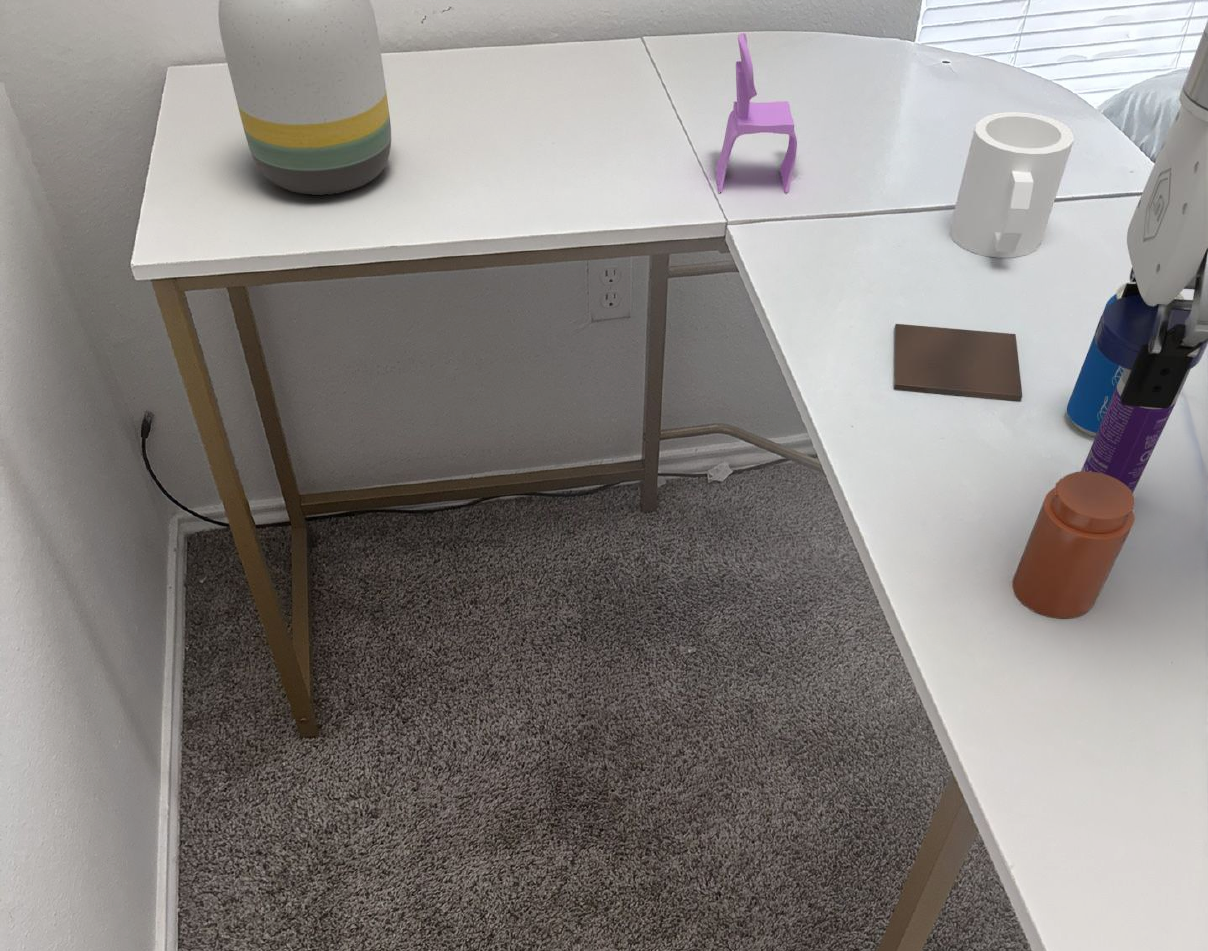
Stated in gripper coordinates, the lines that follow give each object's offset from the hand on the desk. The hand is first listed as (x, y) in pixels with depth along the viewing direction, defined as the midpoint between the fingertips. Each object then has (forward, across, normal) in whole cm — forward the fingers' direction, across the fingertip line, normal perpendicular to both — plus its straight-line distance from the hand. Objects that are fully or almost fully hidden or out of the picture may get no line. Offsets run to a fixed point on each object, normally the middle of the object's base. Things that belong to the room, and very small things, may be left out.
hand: (1137, 370), depth 74 cm
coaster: (+18, -30, -7) cm, 36 cm away
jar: (+18, +2, 0) cm, 18 cm away
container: (+19, -11, +5) cm, 22 cm away
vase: (+18, -60, -80) cm, 102 cm away
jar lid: (-3, 0, 0) cm, 3 cm away
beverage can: (+19, -22, +6) cm, 30 cm away
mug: (+19, -56, -1) cm, 59 cm away
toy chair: (+18, -67, -29) cm, 75 cm away
